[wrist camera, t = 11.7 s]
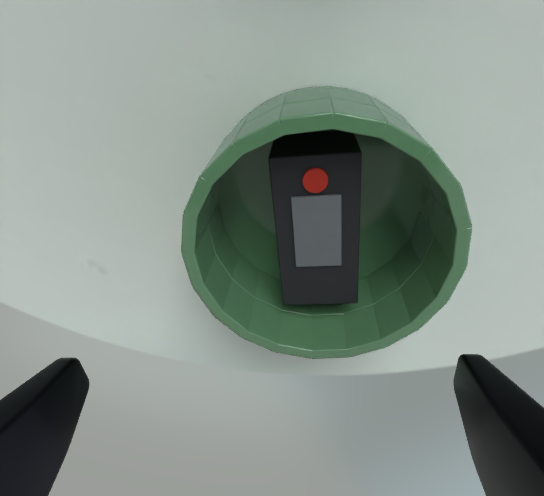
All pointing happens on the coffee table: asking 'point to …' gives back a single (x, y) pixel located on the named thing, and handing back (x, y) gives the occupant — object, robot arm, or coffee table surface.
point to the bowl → (373, 230)
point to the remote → (317, 215)
